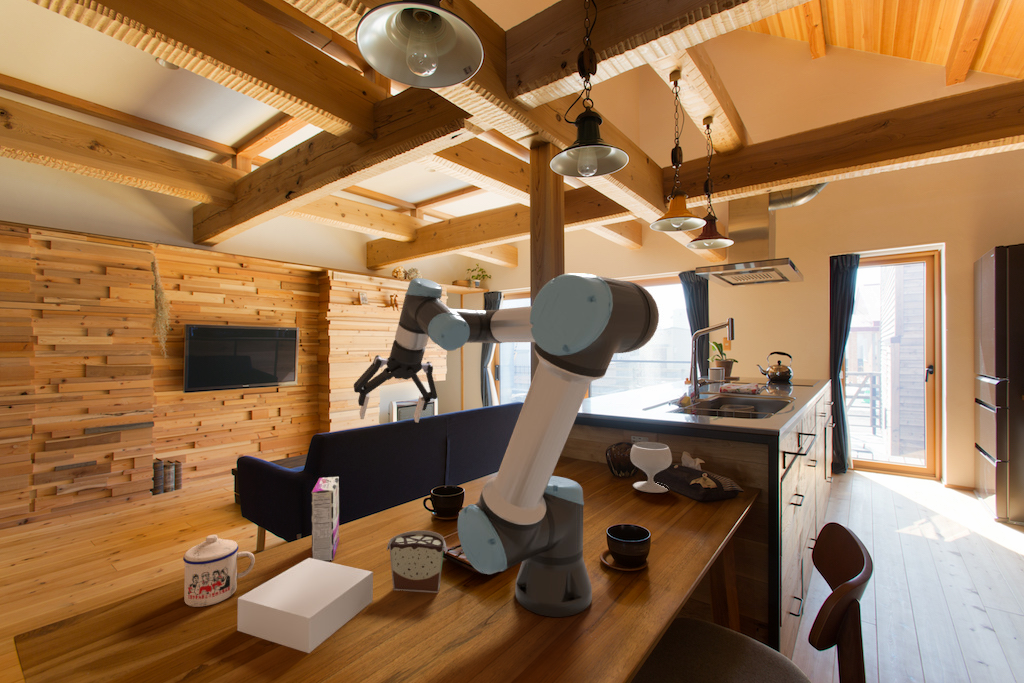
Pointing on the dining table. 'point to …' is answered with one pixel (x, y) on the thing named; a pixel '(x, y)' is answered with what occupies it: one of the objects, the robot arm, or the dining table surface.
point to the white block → (305, 603)
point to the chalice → (650, 463)
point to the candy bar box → (325, 518)
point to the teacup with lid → (212, 571)
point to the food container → (417, 561)
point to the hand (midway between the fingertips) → (389, 417)
